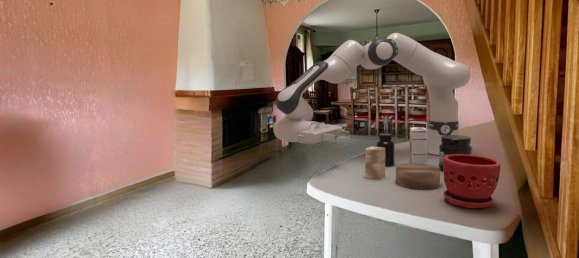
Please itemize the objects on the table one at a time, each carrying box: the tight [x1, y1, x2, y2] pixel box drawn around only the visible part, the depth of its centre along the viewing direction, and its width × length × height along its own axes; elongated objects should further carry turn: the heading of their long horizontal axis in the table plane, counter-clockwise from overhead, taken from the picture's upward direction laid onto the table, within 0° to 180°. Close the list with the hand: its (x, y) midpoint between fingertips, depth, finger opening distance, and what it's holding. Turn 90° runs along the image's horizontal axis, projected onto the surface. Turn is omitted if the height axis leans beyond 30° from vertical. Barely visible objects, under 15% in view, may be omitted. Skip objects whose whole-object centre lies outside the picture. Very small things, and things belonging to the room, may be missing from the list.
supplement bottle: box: [375, 132, 395, 167], centre depth 132 cm, size 7×7×12 cm
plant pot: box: [442, 154, 502, 209], centre depth 89 cm, size 13×13×12 cm
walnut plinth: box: [395, 163, 441, 191], centre depth 108 cm, size 13×13×5 cm
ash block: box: [364, 146, 386, 181], centre depth 115 cm, size 5×5×10 cm
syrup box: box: [409, 126, 429, 165], centre depth 128 cm, size 6×6×14 cm
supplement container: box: [438, 135, 473, 174], centre depth 121 cm, size 10×10×12 cm
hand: (342, 135), depth 121 cm, fingers open, 8 cm apart
